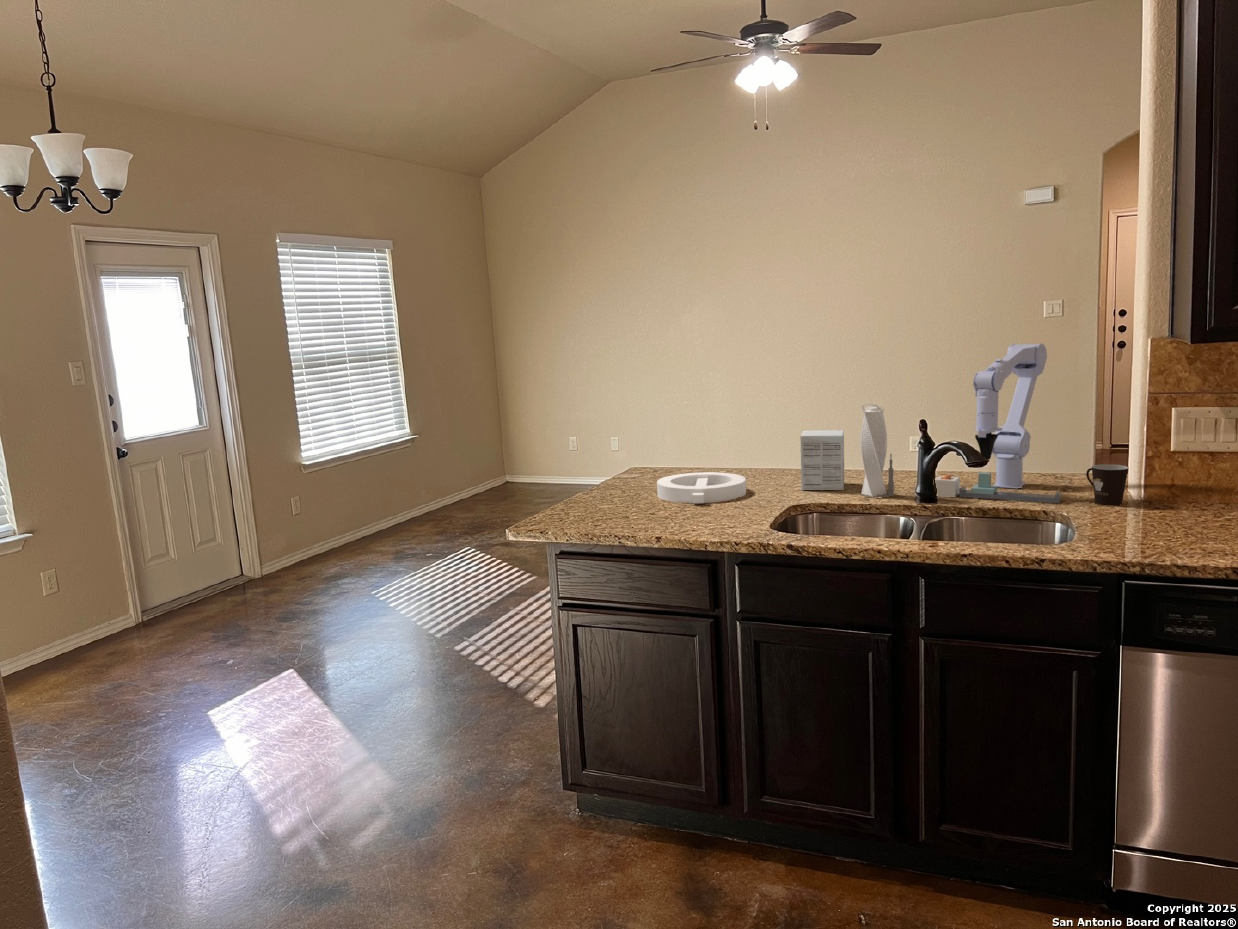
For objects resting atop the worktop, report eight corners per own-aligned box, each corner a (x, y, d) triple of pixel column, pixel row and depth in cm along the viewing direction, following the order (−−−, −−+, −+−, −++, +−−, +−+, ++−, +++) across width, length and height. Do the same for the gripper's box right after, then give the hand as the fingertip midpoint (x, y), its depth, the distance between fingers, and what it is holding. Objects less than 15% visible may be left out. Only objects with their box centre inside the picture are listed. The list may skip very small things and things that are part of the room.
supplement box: (803, 483, 286) (802, 430, 283) (844, 483, 283) (844, 429, 280) (800, 491, 274) (799, 435, 271) (843, 491, 270) (843, 435, 267)
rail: (962, 494, 256) (962, 486, 256) (1060, 500, 242) (1060, 492, 242) (959, 497, 253) (959, 488, 253) (1058, 503, 239) (1059, 494, 239)
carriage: (975, 489, 255) (975, 470, 254) (997, 490, 252) (997, 472, 251) (971, 493, 250) (971, 474, 249) (993, 494, 247) (994, 475, 246)
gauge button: (943, 481, 258) (943, 474, 258) (951, 481, 257) (951, 475, 256) (941, 482, 256) (941, 476, 256) (949, 483, 255) (950, 476, 254)
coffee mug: (1131, 506, 231) (1133, 469, 230) (1096, 506, 233) (1097, 470, 232) (1116, 497, 243) (1117, 462, 241) (1082, 497, 244) (1083, 462, 243)
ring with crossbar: (697, 508, 258) (697, 492, 257) (640, 496, 280) (639, 481, 280) (764, 493, 274) (764, 478, 274) (704, 483, 297) (704, 469, 296)
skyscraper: (872, 499, 256) (872, 404, 251) (854, 495, 263) (854, 402, 259) (895, 495, 259) (895, 402, 255) (877, 491, 267) (876, 400, 262)
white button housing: (938, 492, 261) (938, 476, 260) (959, 493, 258) (959, 477, 257) (933, 496, 256) (933, 479, 255) (954, 497, 253) (955, 480, 252)
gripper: (997, 415, 243) (996, 463, 245) (1006, 410, 255) (1005, 456, 257) (970, 414, 247) (969, 462, 249) (980, 410, 259) (979, 455, 261)
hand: (986, 459), depth 254 cm, fingers closed
